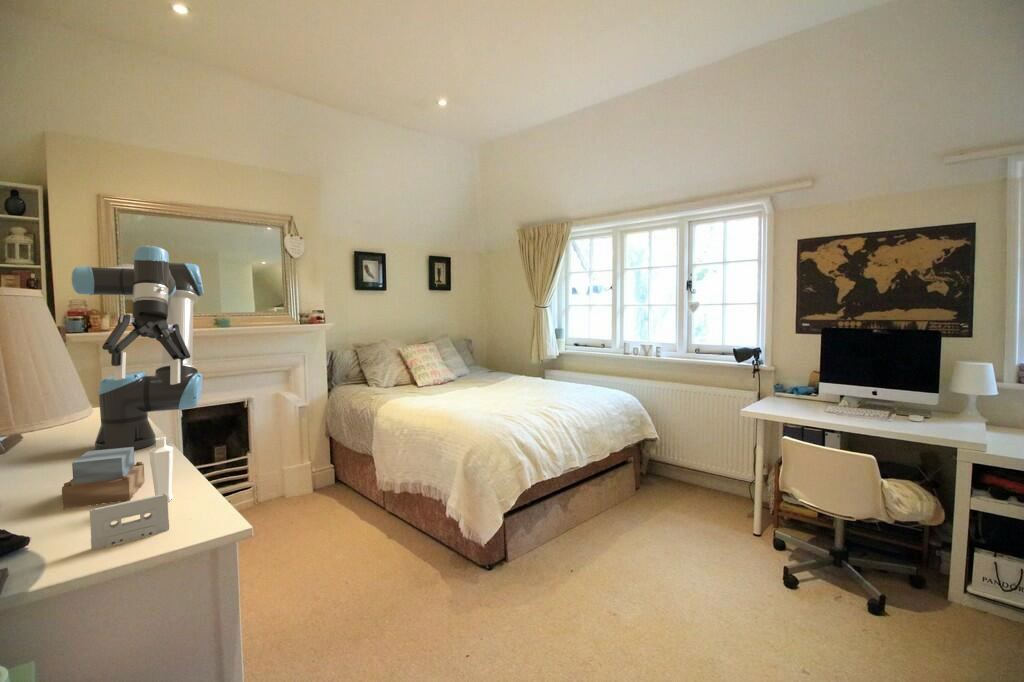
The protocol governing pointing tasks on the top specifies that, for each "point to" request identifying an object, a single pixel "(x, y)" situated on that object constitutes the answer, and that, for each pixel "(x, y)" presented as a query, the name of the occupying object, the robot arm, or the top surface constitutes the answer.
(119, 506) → the cassette
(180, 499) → the top surface
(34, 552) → the top surface
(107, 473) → the blue block on board
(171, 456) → the perfume bottle
